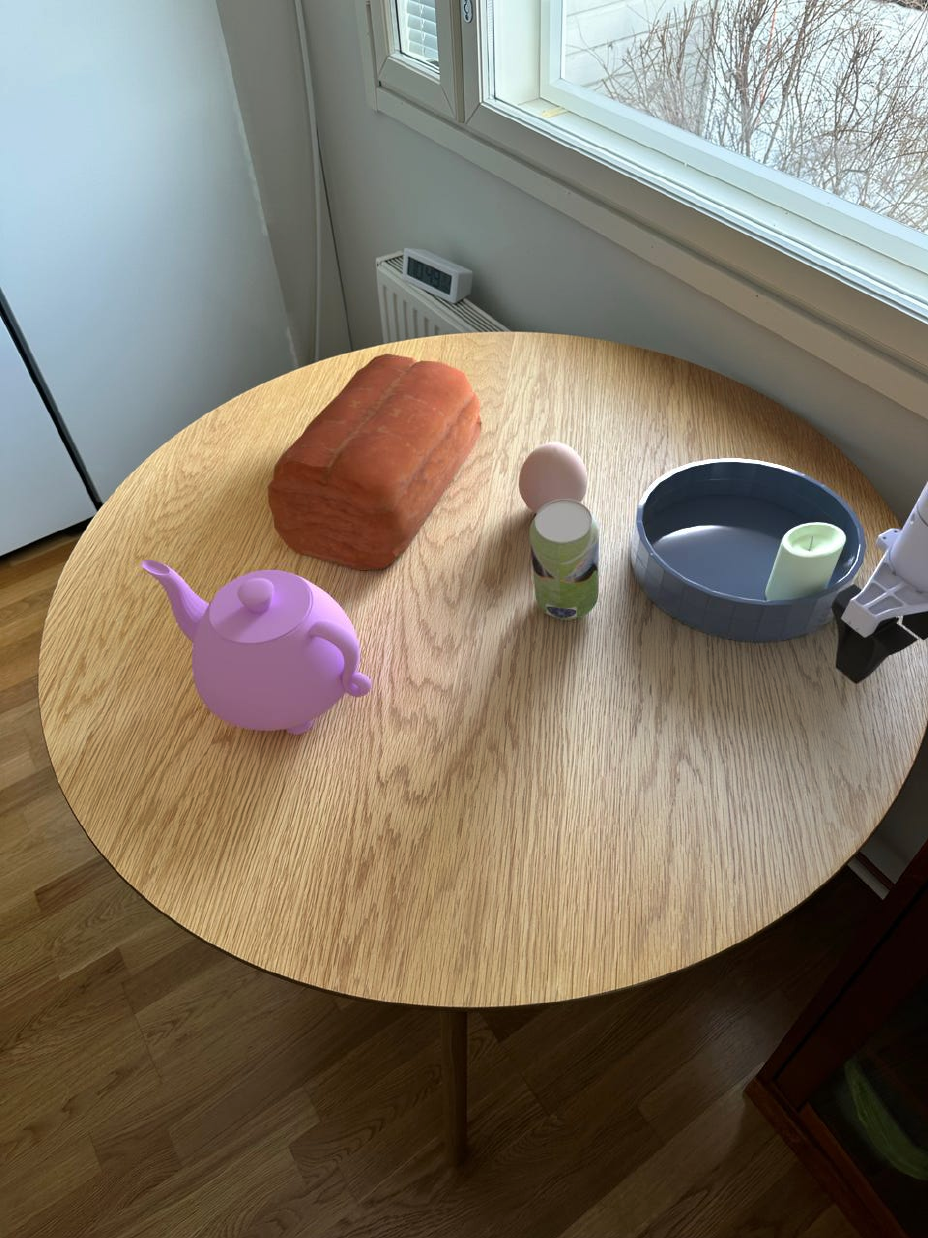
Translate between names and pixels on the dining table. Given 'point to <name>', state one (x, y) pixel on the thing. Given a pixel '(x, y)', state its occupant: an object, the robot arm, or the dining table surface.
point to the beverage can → (565, 559)
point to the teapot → (267, 648)
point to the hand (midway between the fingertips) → (882, 651)
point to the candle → (805, 561)
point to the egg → (552, 476)
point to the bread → (375, 462)
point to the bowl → (736, 547)
